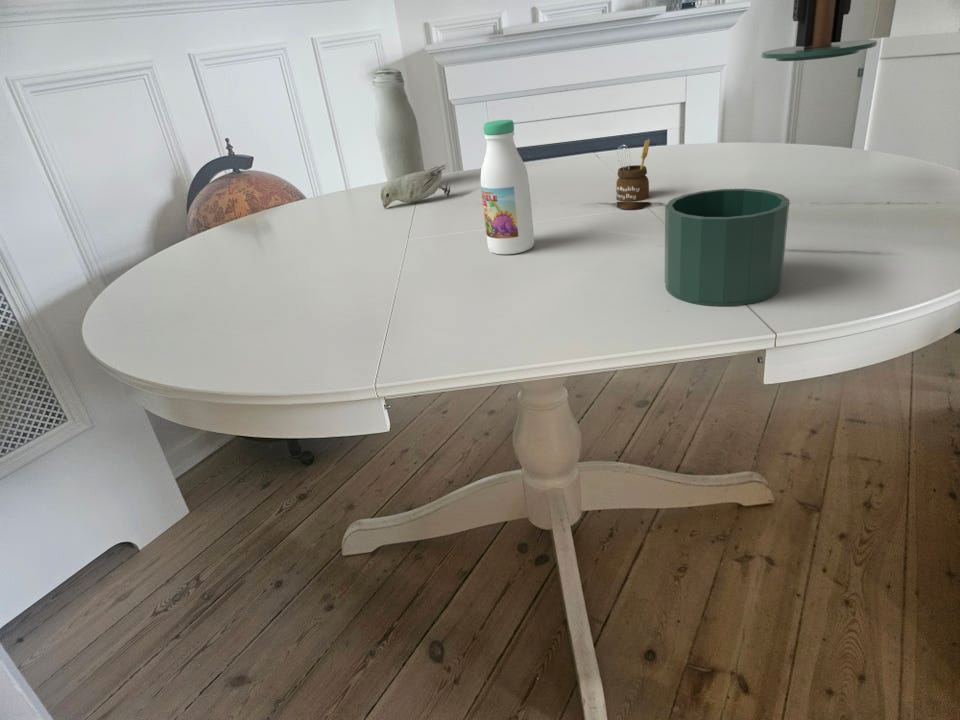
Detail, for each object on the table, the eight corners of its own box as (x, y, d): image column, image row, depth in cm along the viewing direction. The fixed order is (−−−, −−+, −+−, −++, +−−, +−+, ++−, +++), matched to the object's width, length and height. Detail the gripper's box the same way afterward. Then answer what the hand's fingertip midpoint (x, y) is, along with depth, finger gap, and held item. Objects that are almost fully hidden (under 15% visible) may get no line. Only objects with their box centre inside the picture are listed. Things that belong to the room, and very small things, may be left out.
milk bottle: (514, 238, 109) (502, 116, 100) (544, 245, 104) (533, 117, 95) (479, 250, 106) (463, 125, 97) (507, 258, 100) (493, 126, 91)
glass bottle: (428, 183, 163) (410, 64, 150) (425, 191, 154) (404, 66, 141) (391, 187, 164) (369, 70, 151) (385, 196, 155) (361, 72, 142)
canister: (785, 269, 82) (794, 187, 77) (773, 310, 71) (782, 219, 67) (678, 264, 88) (680, 189, 83) (653, 301, 78) (653, 218, 73)
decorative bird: (381, 206, 146) (375, 173, 142) (449, 194, 148) (444, 161, 145) (384, 211, 141) (378, 177, 137) (454, 198, 144) (449, 165, 140)
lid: (876, 46, 94) (886, -26, 90) (875, 55, 83) (886, -27, 78) (768, 56, 101) (773, -10, 97) (753, 66, 90) (758, -8, 86)
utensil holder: (627, 201, 122) (625, 136, 117) (656, 203, 118) (656, 136, 113) (610, 209, 118) (608, 142, 113) (640, 211, 114) (639, 143, 109)
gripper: (888, -162, 83) (862, 36, 94) (761, -142, 84) (749, 51, 95) (925, -179, 77) (892, 36, 87) (786, -158, 77) (770, 52, 88)
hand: (817, 43), depth 91 cm, fingers closed on lid, 4 cm apart
